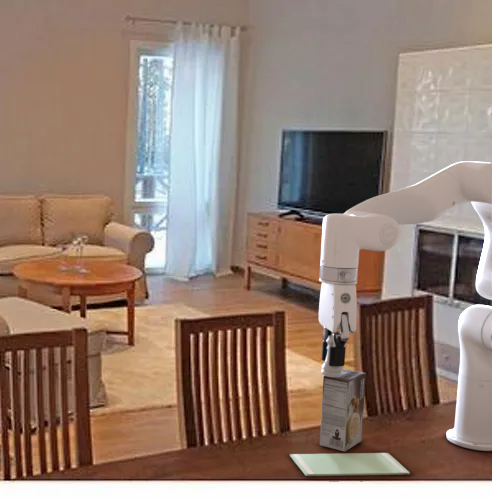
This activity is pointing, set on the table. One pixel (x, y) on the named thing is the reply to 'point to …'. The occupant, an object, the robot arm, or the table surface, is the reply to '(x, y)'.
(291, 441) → the table surface
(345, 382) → the coffee box
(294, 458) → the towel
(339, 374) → the rook chess piece
